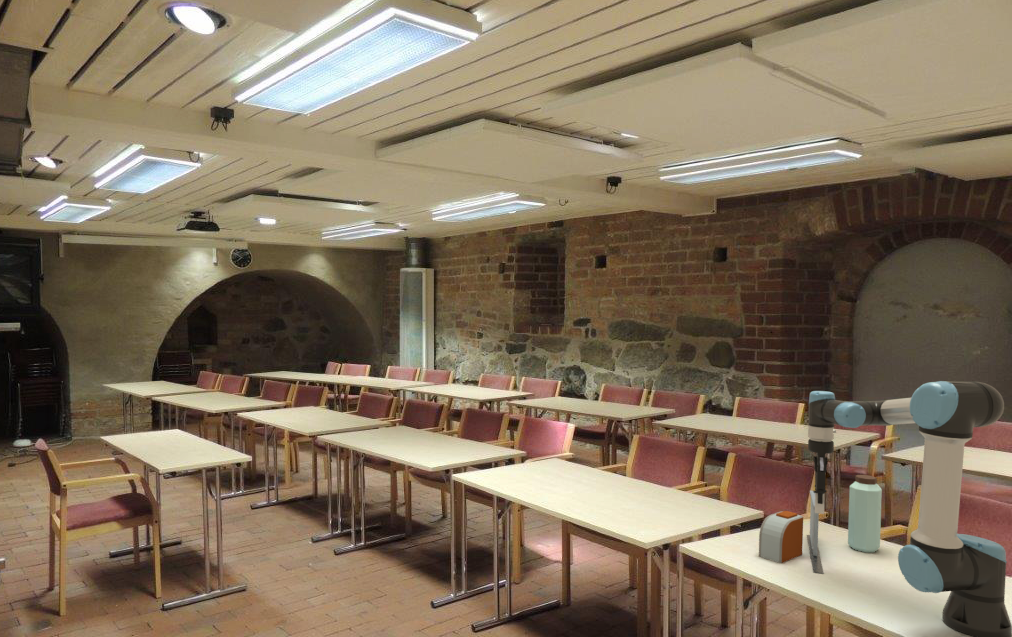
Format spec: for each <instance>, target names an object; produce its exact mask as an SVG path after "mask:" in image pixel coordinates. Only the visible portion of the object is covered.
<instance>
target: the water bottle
mask: <svg viewBox="0 0 1012 637" xmlns="http://www.w3.org/2000/svg"><path fill="white" fill-rule="evenodd" d="M854 479H855V481H853V483H851V484H850V485H849V492H848V493H849V496H848V497H849V498H848V500H849V501H848V525H847V527H848V528H847V530H848V532H847V544H848V545H849V547H850V548H851V547H852V549H853V550H854V549H855V550H854V551H857V550H858V552H861V551H862V552H861V553H876V552H877V551H878V550H879V549H880V548H881V528H882V527H881V522H882V499H883V498H882V495H883V494H882V493H883V489H882V488H881V486H879V484H878V479H877V477H875V476H873V475H867V474H857V475H855V478H854ZM875 551H876V552H875Z"/></svg>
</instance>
